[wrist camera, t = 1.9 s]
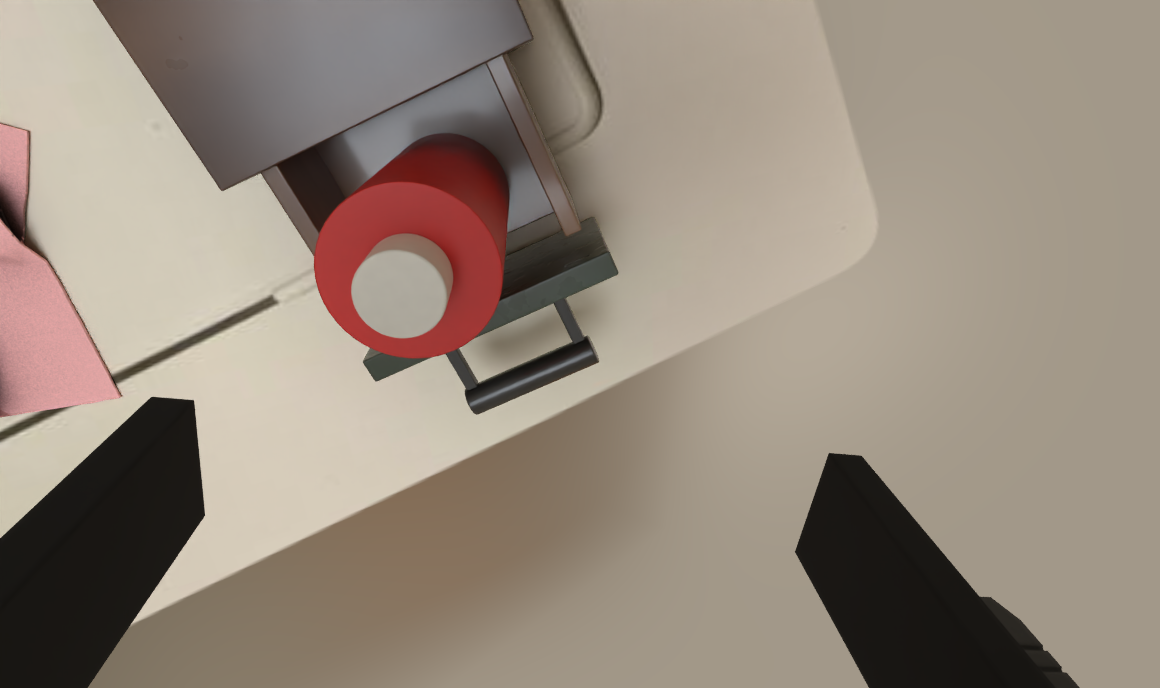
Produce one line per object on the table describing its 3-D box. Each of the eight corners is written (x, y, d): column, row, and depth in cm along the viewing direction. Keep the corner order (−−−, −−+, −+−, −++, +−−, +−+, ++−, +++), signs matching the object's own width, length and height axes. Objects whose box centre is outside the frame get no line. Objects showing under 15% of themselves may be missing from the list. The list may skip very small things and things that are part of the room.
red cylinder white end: (475, 111, 32) (440, 158, 18) (529, 223, 34) (534, 339, 21) (365, 164, 32) (251, 248, 19) (425, 271, 35) (363, 414, 21)
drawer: (634, 309, 38) (656, 360, 32) (440, 394, 39) (425, 459, 33) (478, -48, 30) (467, -74, 24) (243, 71, 31) (174, 76, 25)
